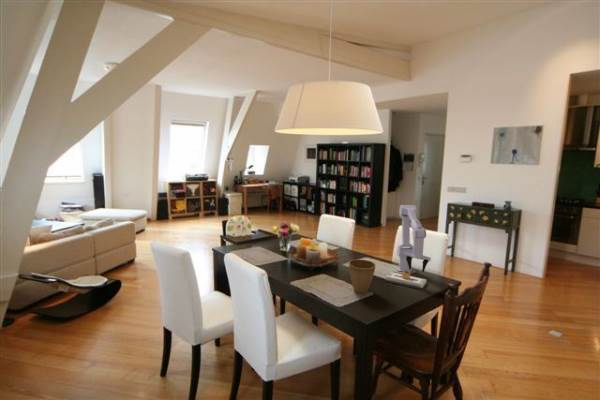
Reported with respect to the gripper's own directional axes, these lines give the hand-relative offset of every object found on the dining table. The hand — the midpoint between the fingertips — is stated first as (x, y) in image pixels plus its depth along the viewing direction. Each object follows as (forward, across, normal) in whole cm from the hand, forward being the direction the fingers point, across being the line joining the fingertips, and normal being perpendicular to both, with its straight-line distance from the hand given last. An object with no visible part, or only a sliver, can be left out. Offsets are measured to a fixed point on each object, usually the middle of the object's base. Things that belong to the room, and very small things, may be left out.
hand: (416, 270), depth 196 cm
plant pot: (+9, -23, -28) cm, 37 cm away
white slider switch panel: (+8, -6, +1) cm, 11 cm away
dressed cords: (+8, -6, +1) cm, 11 cm away
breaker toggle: (+6, -6, +1) cm, 9 cm away
